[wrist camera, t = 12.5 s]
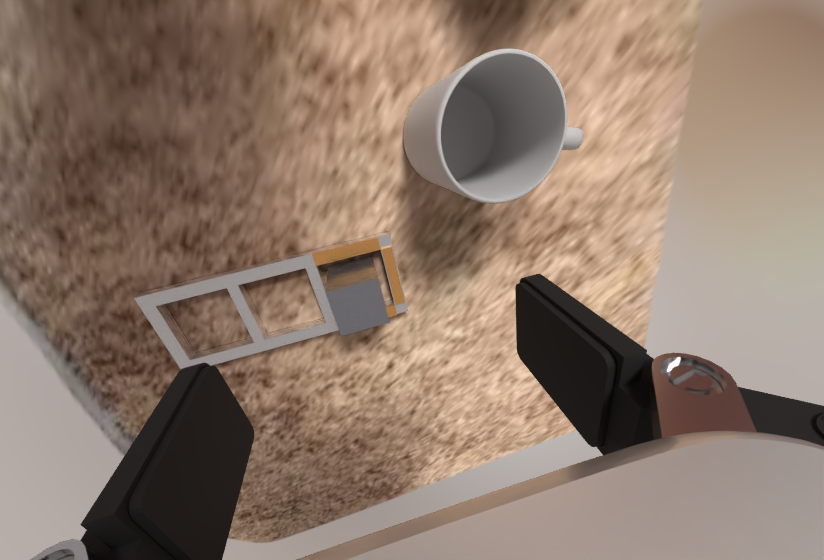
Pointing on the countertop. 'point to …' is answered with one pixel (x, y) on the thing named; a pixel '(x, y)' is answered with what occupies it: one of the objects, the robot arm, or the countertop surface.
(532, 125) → the mug
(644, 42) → the countertop surface
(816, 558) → the robot arm
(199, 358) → the grey flat frame
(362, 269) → the grey rectangular block
